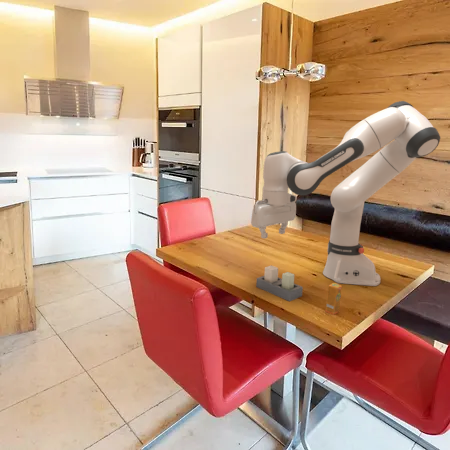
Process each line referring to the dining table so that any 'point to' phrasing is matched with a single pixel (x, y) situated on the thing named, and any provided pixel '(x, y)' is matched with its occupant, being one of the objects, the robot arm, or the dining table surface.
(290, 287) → the beige peg
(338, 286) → the supplement box
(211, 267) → the dining table surface
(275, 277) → the block
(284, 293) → the grey peg holder
